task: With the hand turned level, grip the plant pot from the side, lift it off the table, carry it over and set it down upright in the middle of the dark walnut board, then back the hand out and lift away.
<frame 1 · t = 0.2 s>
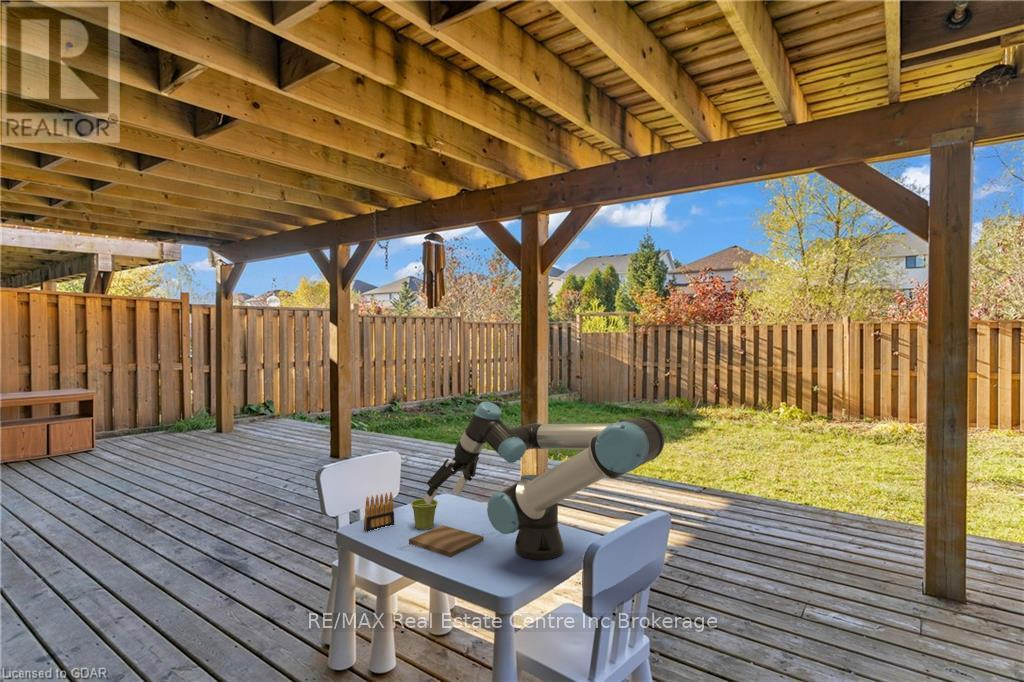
hand: (441, 497, 168), 15 cm above the table, tool tilted 35°, fingers open, 13 cm apart
plant pot: (424, 527, 183), on the table
ammunition clip: (379, 528, 182), on the table
walnut board: (446, 542, 169), on the table
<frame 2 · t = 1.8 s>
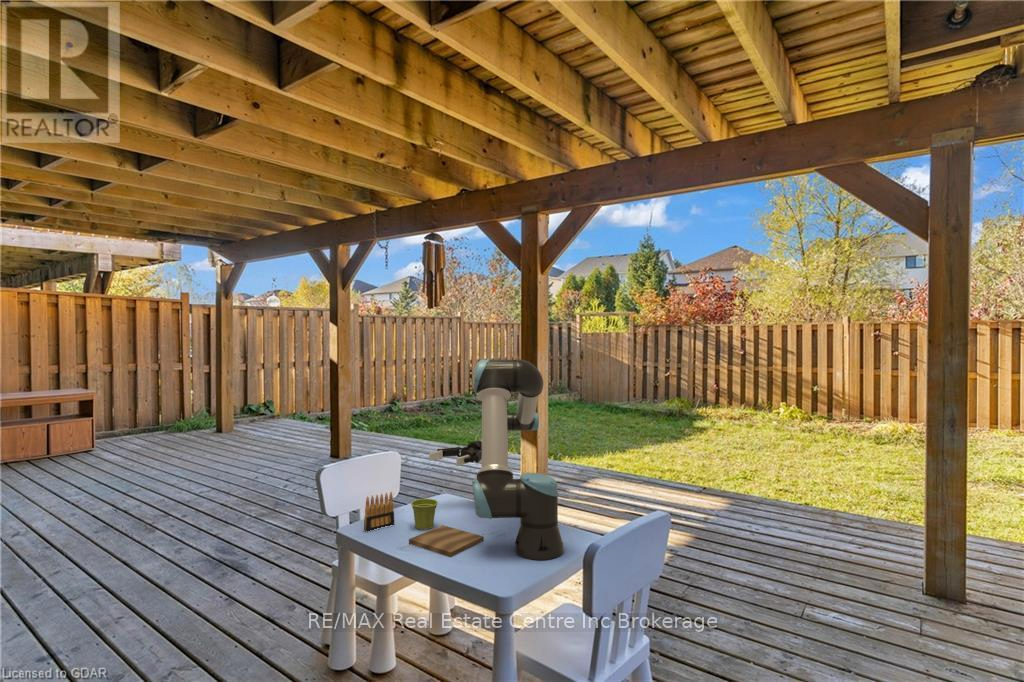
hand: (443, 459, 191), 22 cm above the table, tool horizontal, fingers open, 13 cm apart
nothing on the table moved.
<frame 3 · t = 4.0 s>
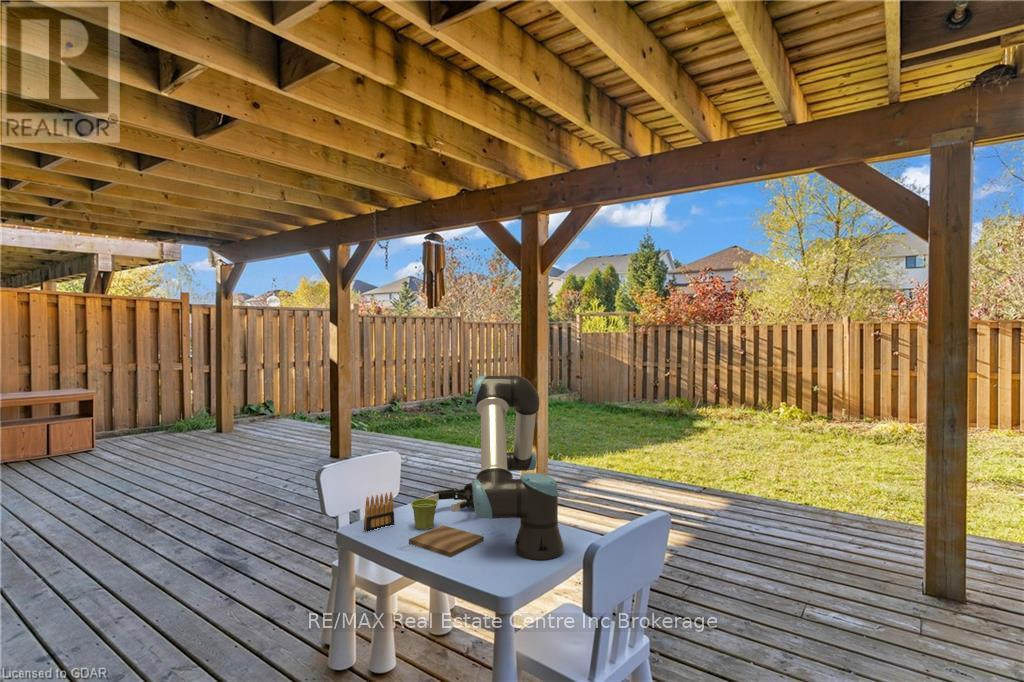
hand: (438, 504, 190), 6 cm above the table, tool horizontal, fingers open, 13 cm apart
nothing on the table moved.
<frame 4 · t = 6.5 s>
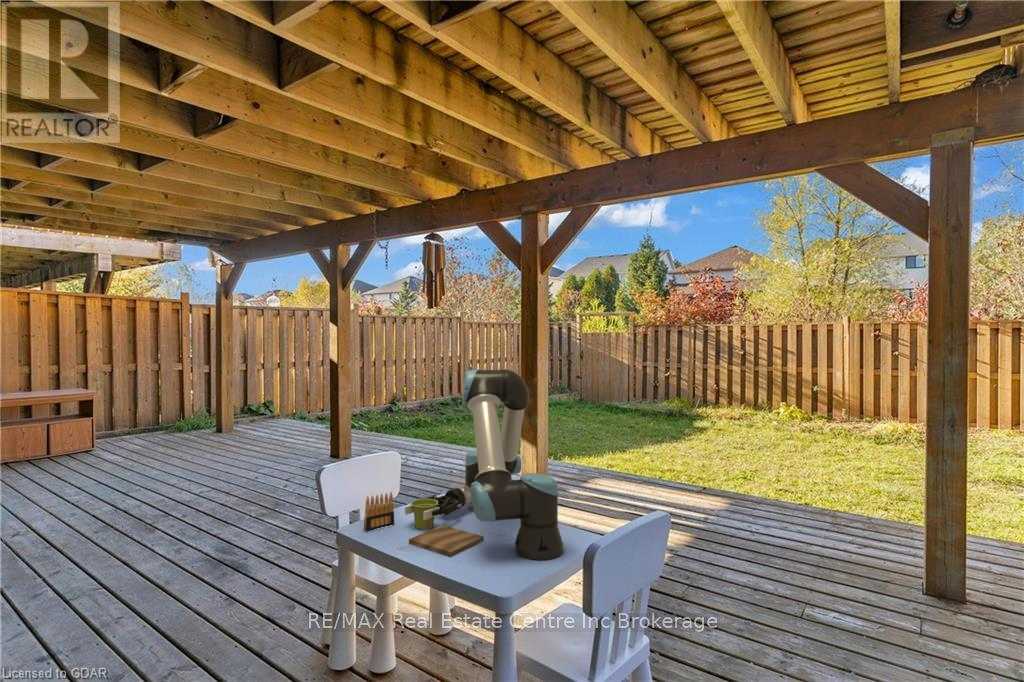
hand: (414, 513, 179), 6 cm above the table, tool horizontal, fingers closed on plant pot, 8 cm apart
plant pot: (424, 527, 183), on the table, touching gripper
everything else where it was.
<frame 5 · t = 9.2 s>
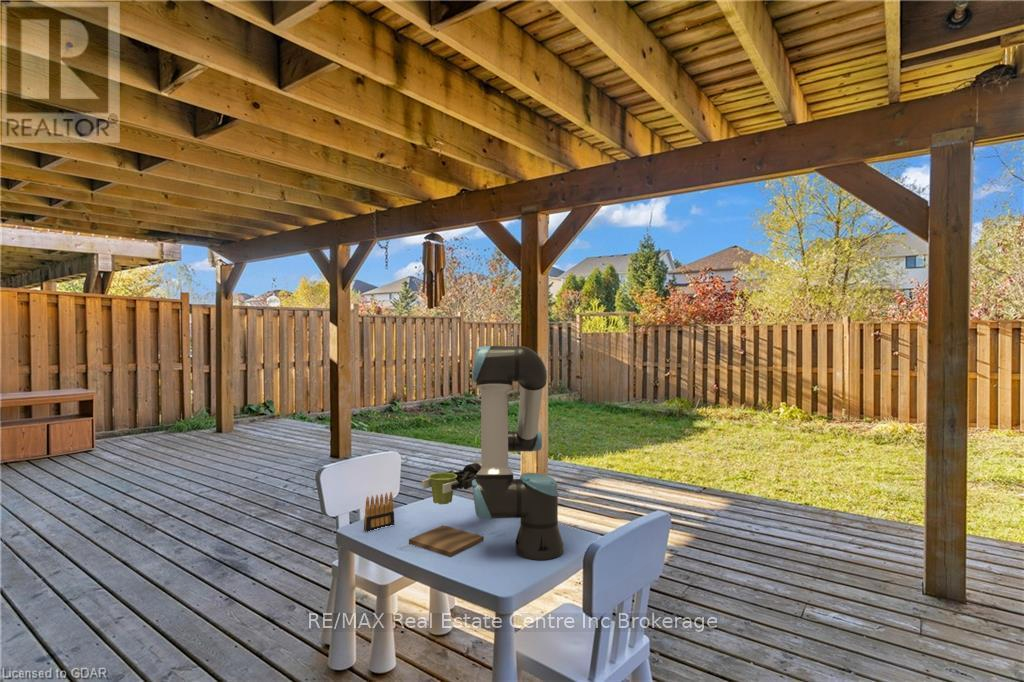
hand: (433, 486, 169), 18 cm above the table, tool horizontal, fingers closed on plant pot, 8 cm apart
plant pot: (442, 502, 173), point 12 cm above the table, touching gripper
everything else where it was.
when the fingers open (9 cm above the table, at t = 12.2 s): plant pot moves 3 cm, resting on walnut board.
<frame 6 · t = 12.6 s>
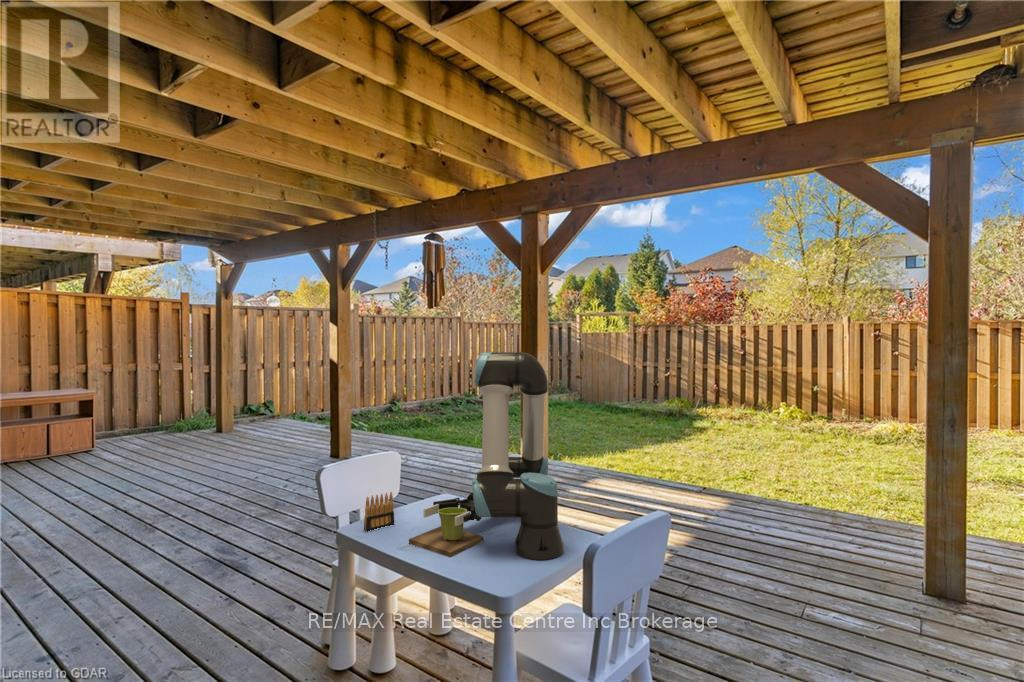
hand: (439, 517, 166), 9 cm above the table, tool horizontal, fingers open, 13 cm apart
plant pot: (452, 538, 168), point 2 cm above the table, touching gripper, walnut board
everything else where it was.
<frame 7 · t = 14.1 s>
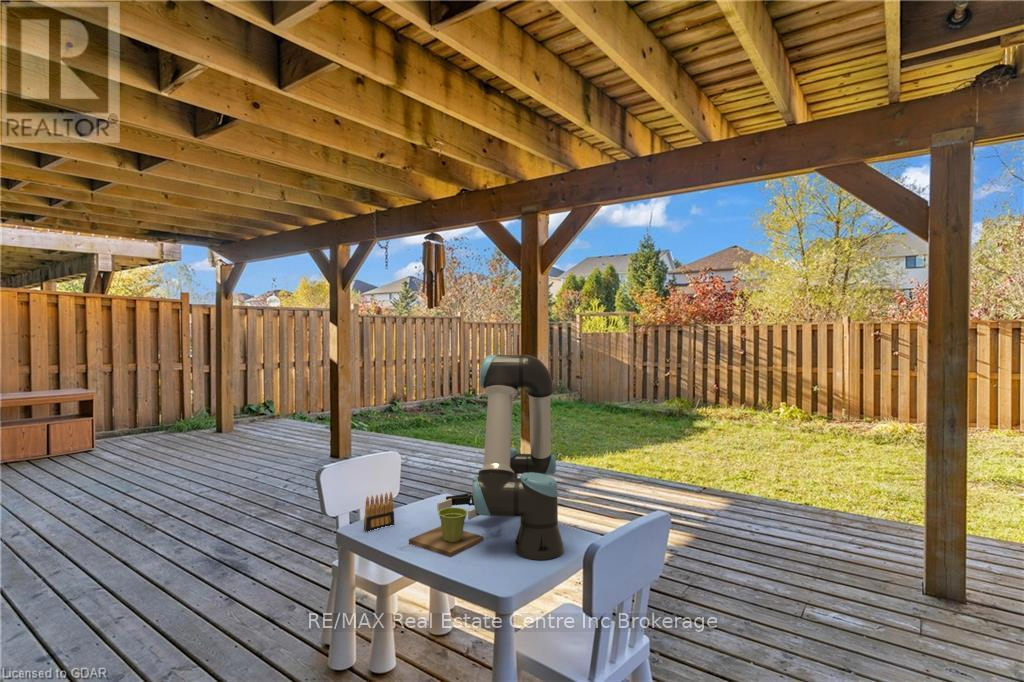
hand: (453, 511, 172), 9 cm above the table, tool horizontal, fingers open, 13 cm apart
plant pot: (452, 539, 168), point 1 cm above the table, touching walnut board
everything else where it was.
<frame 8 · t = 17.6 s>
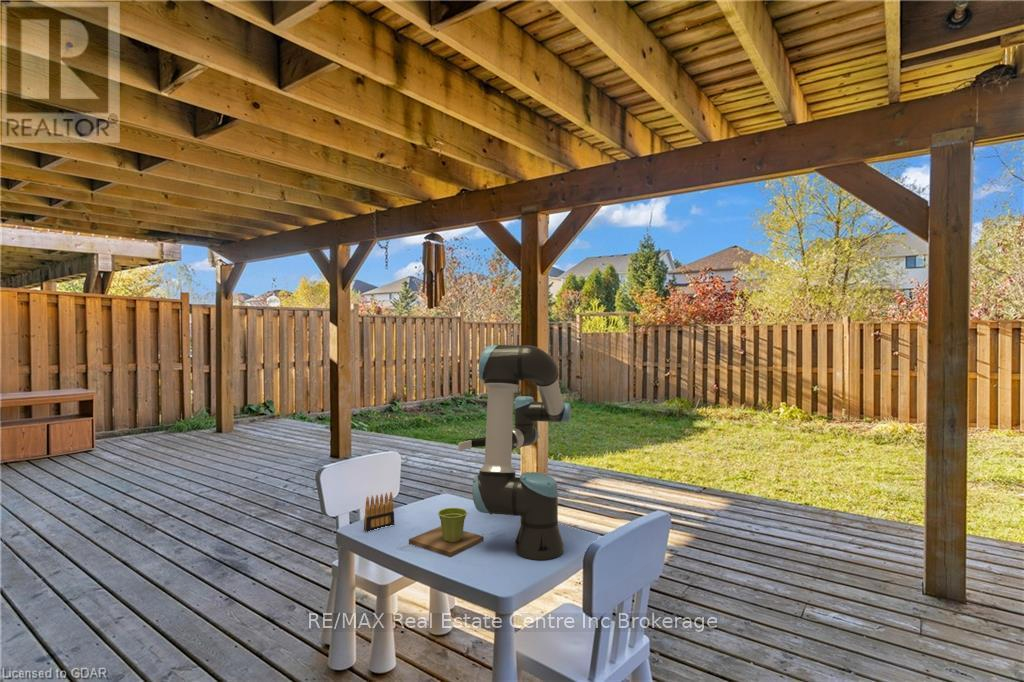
hand: (473, 449, 180), 28 cm above the table, tool horizontal, fingers open, 13 cm apart
nothing on the table moved.
at the end: plant pot inside the target area on the walnut board (2.4 cm from its centre), point 1.3 cm above the walnut board's base; plant pot tilted 0°; the gripper is holding nothing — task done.
